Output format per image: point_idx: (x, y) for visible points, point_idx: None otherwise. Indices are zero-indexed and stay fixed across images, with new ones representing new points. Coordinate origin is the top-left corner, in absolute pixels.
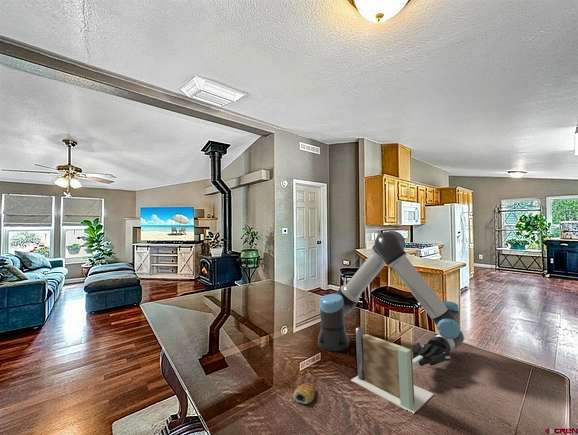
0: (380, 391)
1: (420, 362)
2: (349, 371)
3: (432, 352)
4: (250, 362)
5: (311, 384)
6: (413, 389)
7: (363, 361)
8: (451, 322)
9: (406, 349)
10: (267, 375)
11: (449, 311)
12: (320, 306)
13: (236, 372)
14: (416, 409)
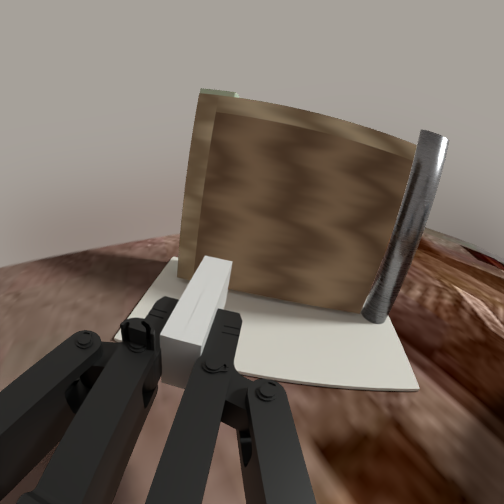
0: None
1: (173, 303)
2: (421, 328)
3: (57, 475)
4: (485, 272)
5: (387, 245)
6: (180, 238)
7: (385, 253)
8: None
9: (213, 90)
10: (446, 260)
11: None
12: None
13: (460, 254)
14: (167, 266)
